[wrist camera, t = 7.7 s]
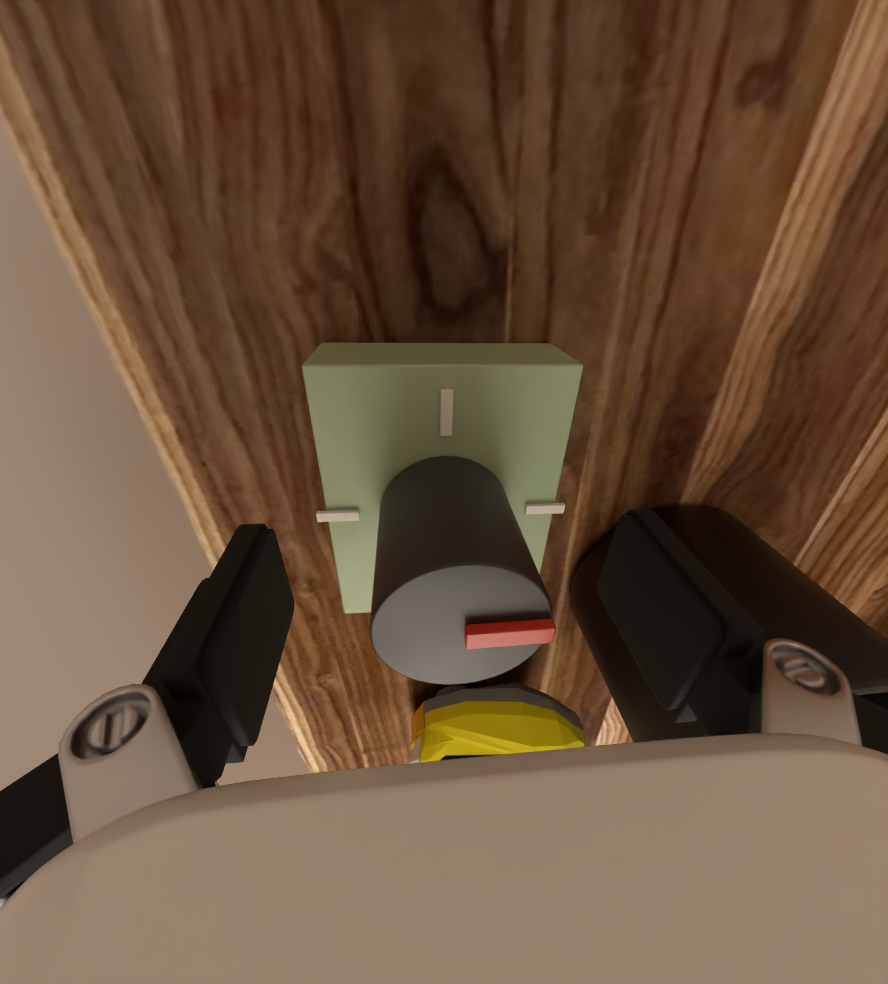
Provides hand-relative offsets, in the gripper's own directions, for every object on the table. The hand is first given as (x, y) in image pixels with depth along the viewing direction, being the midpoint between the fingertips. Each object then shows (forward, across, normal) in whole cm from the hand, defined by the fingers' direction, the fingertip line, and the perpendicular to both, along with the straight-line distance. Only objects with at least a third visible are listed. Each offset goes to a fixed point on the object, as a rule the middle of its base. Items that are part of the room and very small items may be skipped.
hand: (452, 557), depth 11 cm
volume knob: (+3, 0, +1) cm, 3 cm away
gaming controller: (+6, -4, +21) cm, 22 cm away
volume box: (+6, 0, +1) cm, 6 cm away
